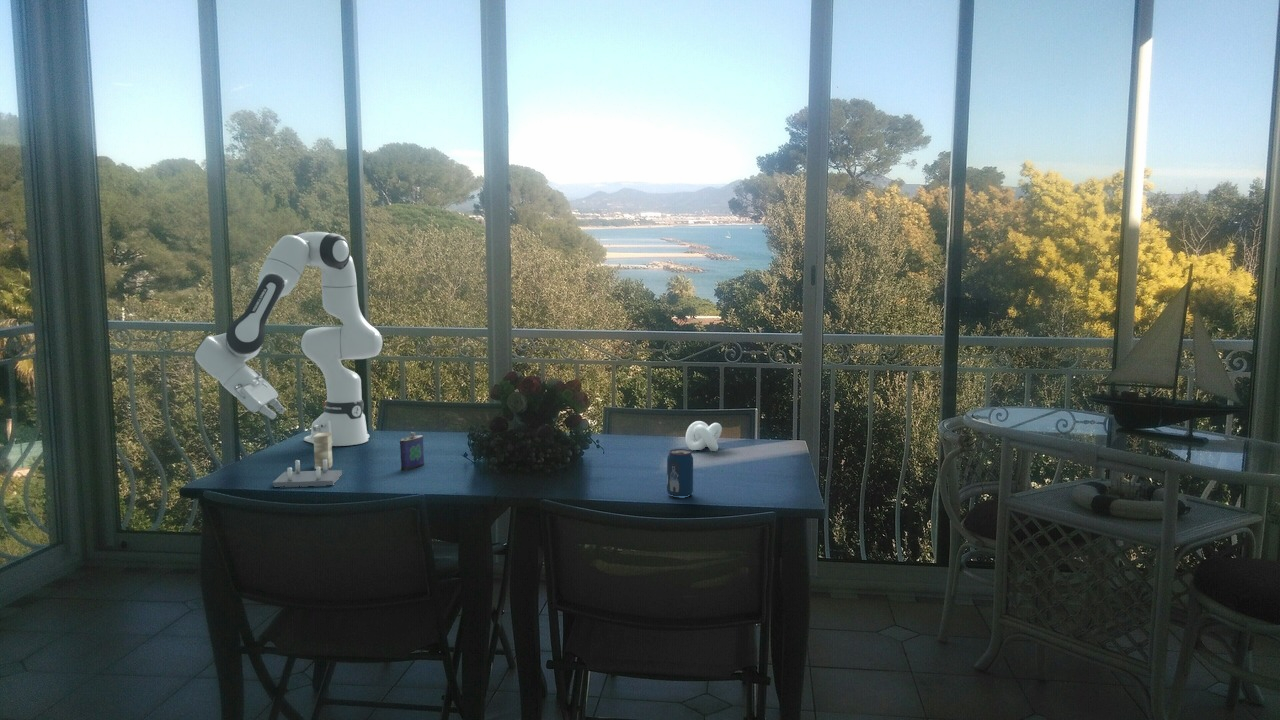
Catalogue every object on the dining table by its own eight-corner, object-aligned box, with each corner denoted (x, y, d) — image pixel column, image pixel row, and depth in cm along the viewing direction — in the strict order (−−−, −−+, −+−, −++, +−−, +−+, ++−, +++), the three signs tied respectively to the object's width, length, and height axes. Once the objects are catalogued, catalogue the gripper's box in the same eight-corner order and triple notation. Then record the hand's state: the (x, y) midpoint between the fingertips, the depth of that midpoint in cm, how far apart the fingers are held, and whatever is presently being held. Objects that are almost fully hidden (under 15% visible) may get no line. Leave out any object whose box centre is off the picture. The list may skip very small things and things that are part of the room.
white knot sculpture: (680, 452, 296) (680, 425, 295) (690, 444, 307) (690, 418, 306) (715, 455, 293) (715, 427, 291) (723, 447, 304) (724, 420, 303)
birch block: (315, 469, 274) (313, 436, 272) (318, 465, 279) (317, 433, 277) (328, 469, 274) (327, 436, 273) (332, 465, 279) (331, 432, 278)
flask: (419, 463, 282) (418, 428, 280) (427, 464, 280) (426, 429, 279) (398, 469, 273) (397, 434, 272) (406, 471, 272) (405, 435, 271)
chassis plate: (273, 487, 253) (272, 469, 253) (284, 476, 265) (283, 459, 265) (333, 485, 255) (332, 468, 255) (341, 475, 267) (341, 458, 266)
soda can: (691, 491, 249) (692, 448, 248) (694, 499, 242) (694, 454, 241) (666, 492, 249) (666, 448, 248) (667, 499, 242) (667, 454, 241)
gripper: (239, 379, 260) (277, 413, 263) (259, 370, 280) (294, 401, 283) (224, 395, 260) (261, 428, 262) (245, 385, 280) (280, 416, 283)
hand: (279, 414), depth 273 cm, fingers open, 8 cm apart
